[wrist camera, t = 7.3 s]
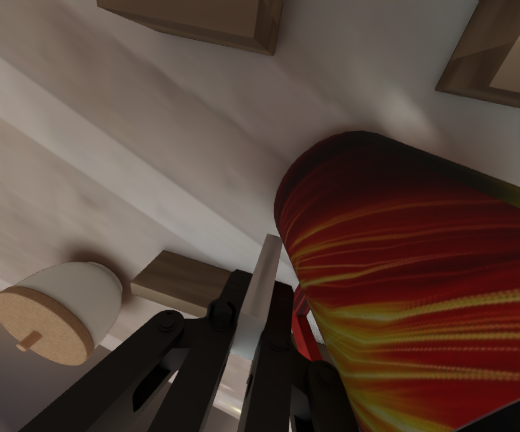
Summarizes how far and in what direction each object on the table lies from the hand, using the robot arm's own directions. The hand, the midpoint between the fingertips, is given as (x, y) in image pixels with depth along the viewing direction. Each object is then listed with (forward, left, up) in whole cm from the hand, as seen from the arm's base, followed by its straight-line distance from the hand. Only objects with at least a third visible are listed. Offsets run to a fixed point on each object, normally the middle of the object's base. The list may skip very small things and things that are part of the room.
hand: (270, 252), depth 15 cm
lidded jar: (+16, -20, -5) cm, 27 cm away
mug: (-2, +4, -4) cm, 6 cm away
